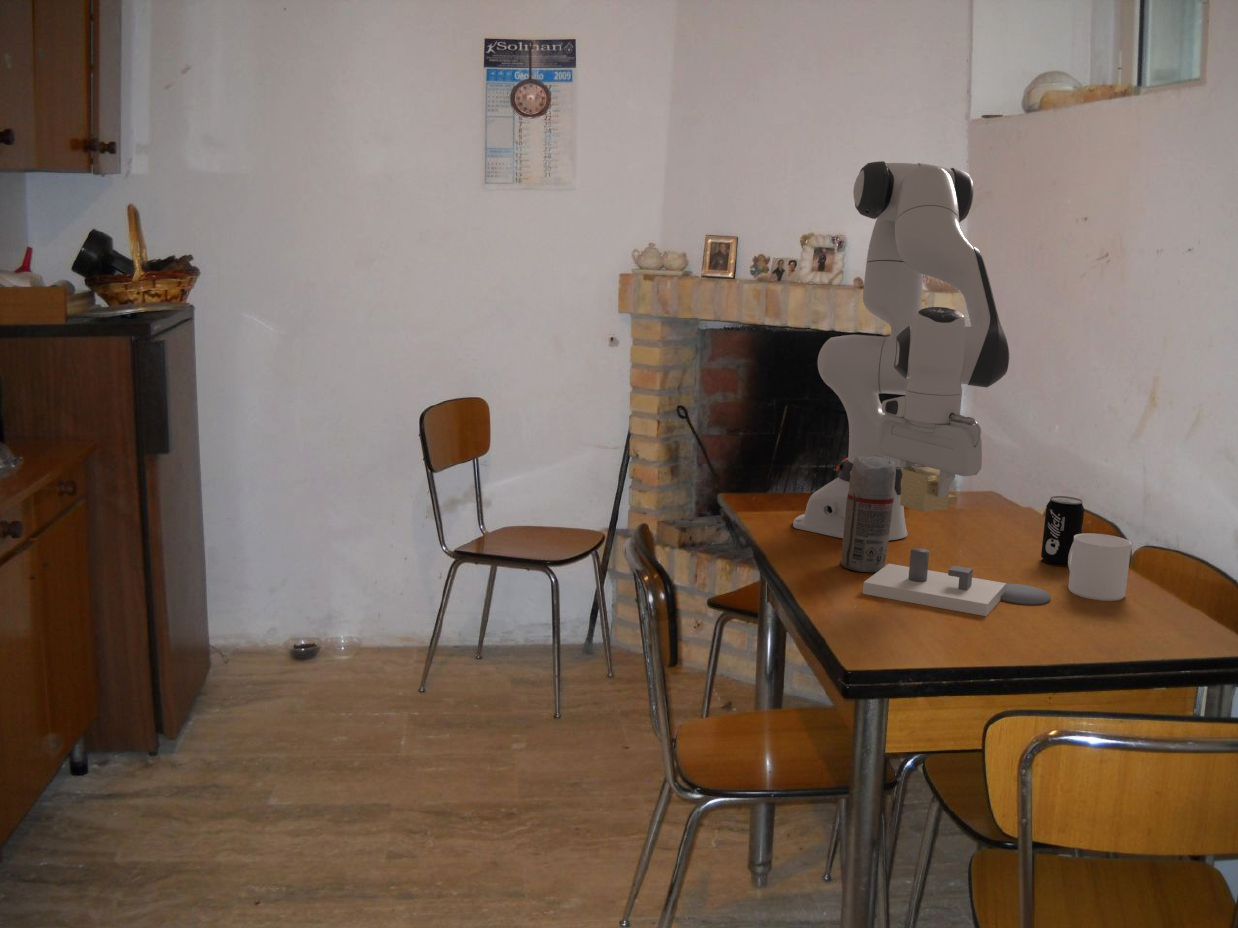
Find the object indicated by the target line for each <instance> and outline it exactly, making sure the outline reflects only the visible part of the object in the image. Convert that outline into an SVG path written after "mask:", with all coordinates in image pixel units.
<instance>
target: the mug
mask: <svg viewBox="0 0 1238 928" xmlns="http://www.w3.org/2000/svg"><path fill="white" fill-rule="evenodd" d="M1131 550H1132V542H1131V541H1130V540H1128V539H1126V538H1123V537H1119V536H1115V535H1111V534H1103V533H1091V532H1087V533H1086V532H1085V533H1082V534H1077V535H1075V536H1074V541H1073V543H1072V546H1071V548H1070V552H1069V556H1068V566H1067V567H1068V570H1069V578H1068V586H1067V587H1068V588H1067V589H1068V590H1069V592H1070V593H1072V594H1073V595H1076V596H1078V597H1082V598H1084V599H1089V600H1094V601H1103V602H1104V601H1105V602H1115V601H1121V600H1123V599H1124V597H1125V596H1126V593H1127V592H1126V591H1127V583H1128V575H1129V566H1130V560H1131V559H1130V558H1131Z"/></svg>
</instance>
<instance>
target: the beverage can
mask: <svg viewBox="0 0 1238 928" xmlns="http://www.w3.org/2000/svg"><path fill="white" fill-rule="evenodd" d="M1083 502H1084V501H1083V500H1082V498H1078V497H1074V496H1069V495H1068V496H1066V495H1053V496H1050V497H1049V501H1048V502H1047V504H1046V507H1045V517H1044V526H1043V533H1042V544H1041V553H1040V557H1041V558H1042V561H1043V562H1045V563H1046V564H1049V565H1052V566H1058V567H1059V566H1060V567H1069V566H1068V556H1069V552H1070V548H1071V546H1072V543H1073V541H1074V536H1075V535H1077V534H1083V533H1082V532H1083V525H1084V517H1085V508H1084V506H1083Z"/></svg>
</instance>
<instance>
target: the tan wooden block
mask: <svg viewBox="0 0 1238 928" xmlns="http://www.w3.org/2000/svg"><path fill="white" fill-rule="evenodd" d="M941 479H942V477H940V470H938V469H934V468H930V467H926V466H920V467H919V466H918V467H912V468H907V469H903V474H902V485H901V497H900V505H902V506H904V508H909V509H912V510H914V511H918V512H921V513H928V512H936V511H937V512H938V511H943V510H948V505H956V504H957V502H958V496H957V495H953V494H950V487H951V485H950V486H948V495H947V497H943V498H940V497H937V496H934V495H933V492H934V485H938V484H939V482H940V481H941Z"/></svg>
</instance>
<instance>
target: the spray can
mask: <svg viewBox="0 0 1238 928" xmlns="http://www.w3.org/2000/svg"><path fill="white" fill-rule="evenodd" d="M895 475H896V464H895V462H894V461H892V460H887V459H885V458H884V457H882V456H879V455H875V454H874V455H869V456H861V457H859V456H858V457H855V460H854V463H853V467H852V471H851V476H850V484H849V492H848V496H847V501H846V511H845V523H844V532H843V538H842V545H841V559H840V561H839V563H840V564H841V566H842V567H843V568H845V569H849V570H851V571H855V572H861V573H877V572H878V571H879V570H881V569H882V568H884V567H885V566H886V561H887V556H888V545H889V541H890V540H889V533H890V525H891V520H892V510H893V502H894V487H895Z"/></svg>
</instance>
